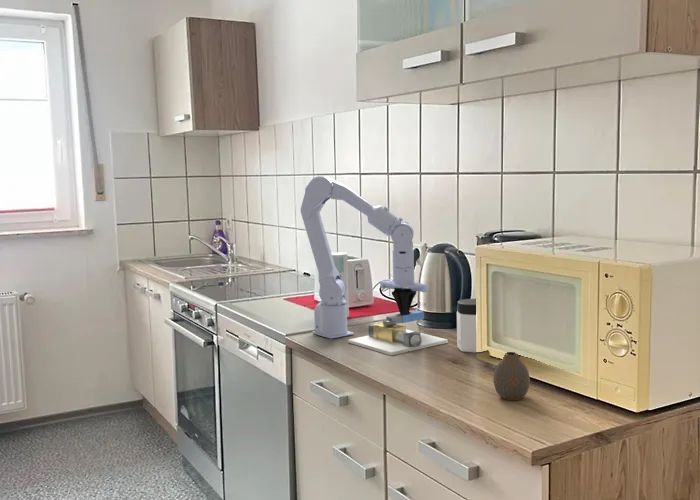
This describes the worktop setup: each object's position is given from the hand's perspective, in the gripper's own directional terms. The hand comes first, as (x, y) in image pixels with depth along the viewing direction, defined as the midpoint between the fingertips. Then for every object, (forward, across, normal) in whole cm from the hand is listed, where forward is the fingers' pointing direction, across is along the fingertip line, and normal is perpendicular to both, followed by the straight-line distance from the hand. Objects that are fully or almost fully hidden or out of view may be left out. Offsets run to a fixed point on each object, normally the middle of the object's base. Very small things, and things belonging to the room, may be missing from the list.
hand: (404, 316), depth 190 cm
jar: (+6, +23, -4) cm, 24 cm away
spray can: (+5, -31, +10) cm, 33 cm away
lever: (+1, +2, -4) cm, 5 cm away
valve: (+4, +3, -9) cm, 11 cm away
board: (+5, +3, -8) cm, 10 cm away
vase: (+6, +47, -34) cm, 58 cm away
